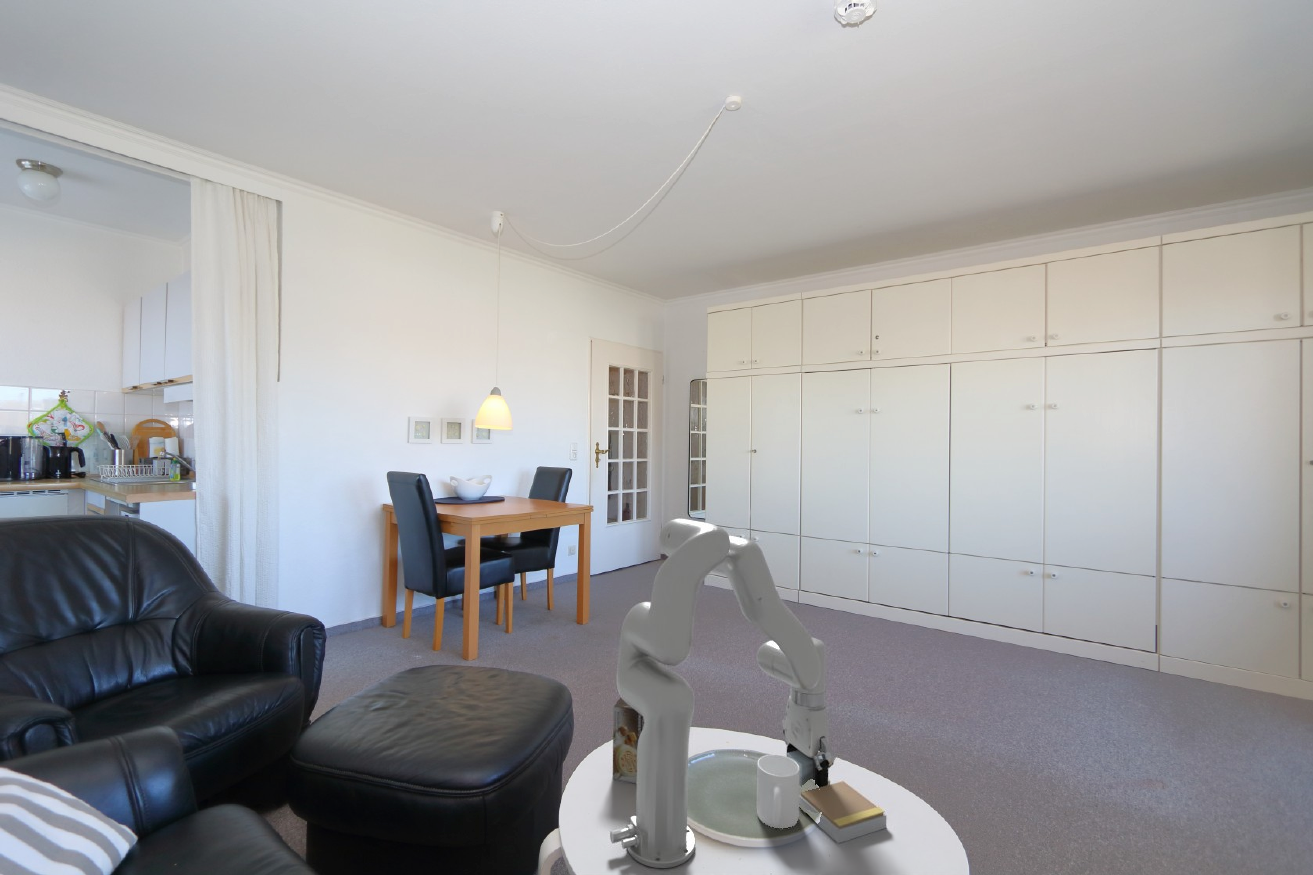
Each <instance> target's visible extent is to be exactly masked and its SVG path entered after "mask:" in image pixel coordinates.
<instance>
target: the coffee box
mask: <svg viewBox="0 0 1313 875" xmlns="http://www.w3.org/2000/svg"><path fill="white" fill-rule="evenodd" d="M612 710H613V714H612V715H613V716H612V717H613V718H612V721H613V722H612V723H613V725H612V726H613V727H612V737H613V738H612V779H613V780H616V781H622V782H628V783H633V784H637V746H638V740H639V737H640V734H641V732H642V730H643V727H644V718H643V716H642V715H640V714H639V713H638V712H637V711H636V710H634V709H633V708H632V707H631V706H629V705H628V704H627V703H626V702H625V701H624V700H623V699H622V698H621V697H620V698H618V700H617V701H616V703H615V704H614V706H613V709H612Z"/></svg>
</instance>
